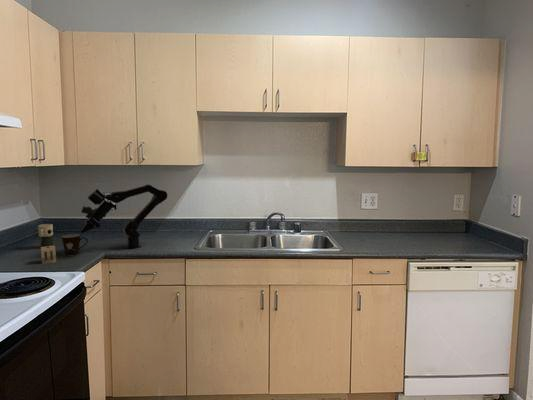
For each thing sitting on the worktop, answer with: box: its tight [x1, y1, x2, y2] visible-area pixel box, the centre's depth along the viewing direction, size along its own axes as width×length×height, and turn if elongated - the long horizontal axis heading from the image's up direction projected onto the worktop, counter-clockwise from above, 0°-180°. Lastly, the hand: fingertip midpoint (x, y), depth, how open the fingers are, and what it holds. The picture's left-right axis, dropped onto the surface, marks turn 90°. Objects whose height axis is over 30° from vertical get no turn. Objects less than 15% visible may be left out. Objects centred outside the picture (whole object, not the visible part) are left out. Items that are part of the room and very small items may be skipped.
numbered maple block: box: [40, 245, 57, 265], centre depth 188 cm, size 6×6×7 cm
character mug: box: [37, 223, 54, 248], centre depth 217 cm, size 11×7×13 cm, turn 3°
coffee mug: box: [61, 233, 89, 256], centre depth 201 cm, size 12×9×10 cm
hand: (81, 232), depth 202 cm, fingers closed
